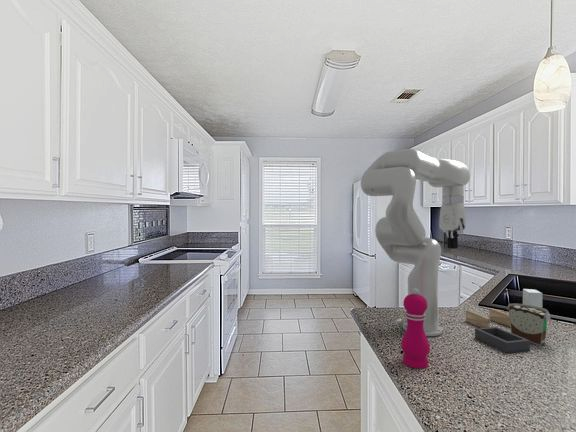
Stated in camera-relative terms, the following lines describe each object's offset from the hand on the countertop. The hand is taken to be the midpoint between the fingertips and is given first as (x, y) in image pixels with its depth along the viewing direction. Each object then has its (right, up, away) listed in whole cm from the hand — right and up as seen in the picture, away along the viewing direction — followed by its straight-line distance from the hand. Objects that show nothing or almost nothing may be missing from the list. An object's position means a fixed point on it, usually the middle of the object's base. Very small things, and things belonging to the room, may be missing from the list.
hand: (452, 248), depth 130 cm
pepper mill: (-30, -27, -41) cm, 58 cm away
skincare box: (+24, -26, -10) cm, 37 cm away
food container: (+13, -27, -24) cm, 38 cm away
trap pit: (+1, -26, -28) cm, 39 cm away
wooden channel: (+8, -26, -10) cm, 29 cm away
